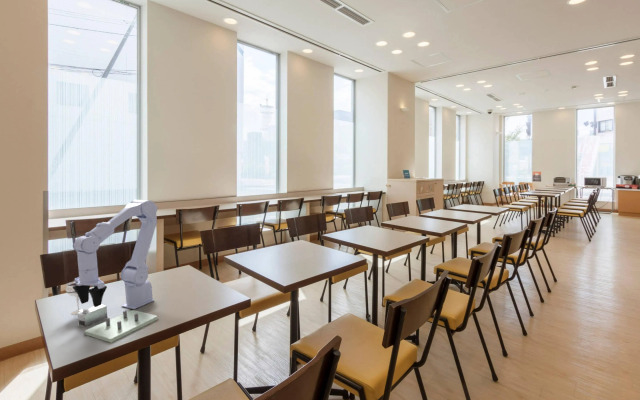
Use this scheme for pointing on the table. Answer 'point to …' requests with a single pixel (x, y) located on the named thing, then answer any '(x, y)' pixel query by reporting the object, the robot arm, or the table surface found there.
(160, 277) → the table surface
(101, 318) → the drive
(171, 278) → the table surface
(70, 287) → the wineglass
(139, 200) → the robot arm
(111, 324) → the pale green peg board
